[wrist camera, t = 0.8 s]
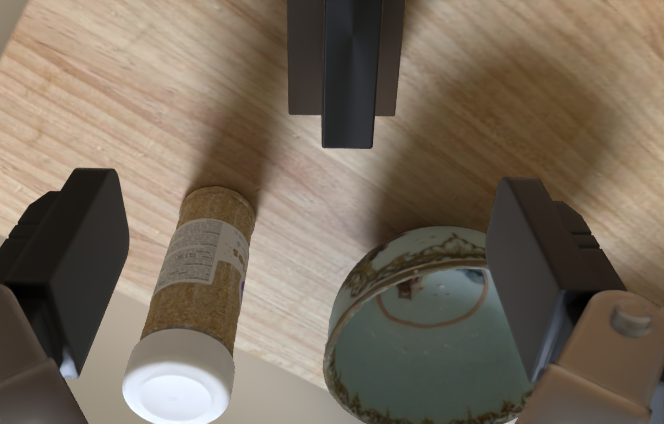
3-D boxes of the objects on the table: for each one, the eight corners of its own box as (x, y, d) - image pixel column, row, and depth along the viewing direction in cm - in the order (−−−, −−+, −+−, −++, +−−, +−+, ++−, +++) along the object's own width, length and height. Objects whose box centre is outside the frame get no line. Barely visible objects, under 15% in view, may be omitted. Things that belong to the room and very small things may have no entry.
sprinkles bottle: (260, 242, 38) (237, 430, 27) (186, 246, 38) (133, 435, 27) (250, 179, 35) (221, 359, 24) (171, 184, 35) (106, 365, 24)
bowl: (316, 181, 35) (315, 271, 29) (548, 171, 35) (601, 259, 29) (326, 345, 43) (327, 445, 37) (516, 337, 43) (552, 436, 36)
